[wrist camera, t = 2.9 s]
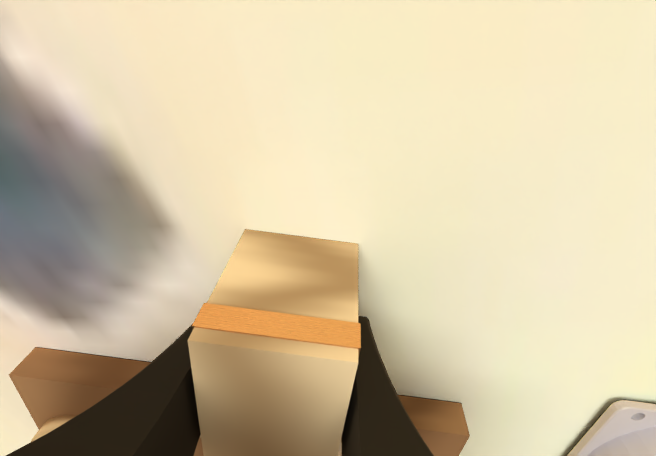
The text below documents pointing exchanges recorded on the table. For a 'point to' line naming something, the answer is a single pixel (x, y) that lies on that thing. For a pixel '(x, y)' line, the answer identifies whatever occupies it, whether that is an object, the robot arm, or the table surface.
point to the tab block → (278, 348)
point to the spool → (52, 425)
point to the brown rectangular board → (110, 373)
